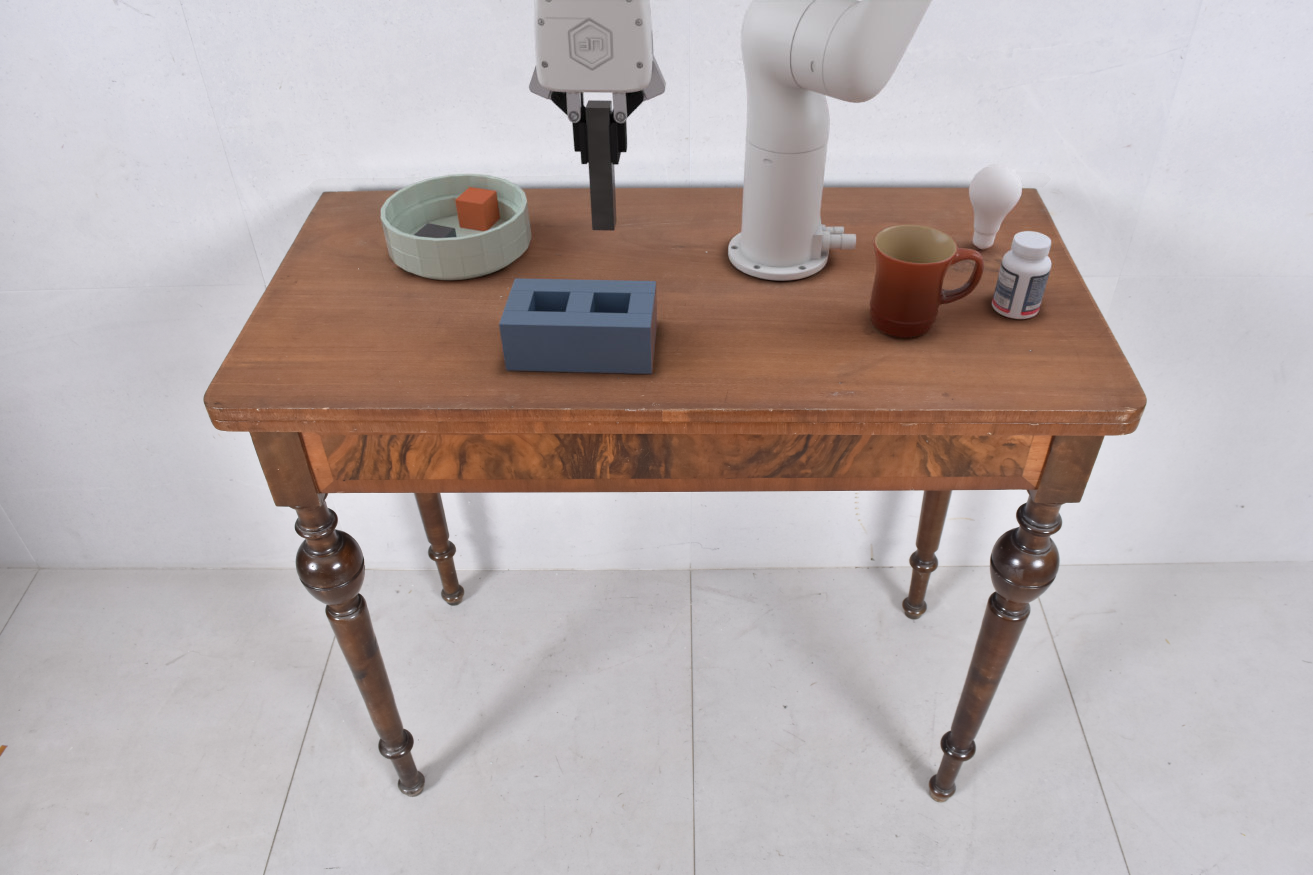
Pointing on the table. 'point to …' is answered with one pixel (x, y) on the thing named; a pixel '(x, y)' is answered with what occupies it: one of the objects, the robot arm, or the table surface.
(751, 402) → the table surface
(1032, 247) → the pill bottle
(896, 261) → the mug
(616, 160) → the robot arm
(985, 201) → the lightbulb
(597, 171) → the rectangular bar
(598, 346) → the holder
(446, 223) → the bowl
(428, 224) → the block
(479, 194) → the block
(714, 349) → the table surface
